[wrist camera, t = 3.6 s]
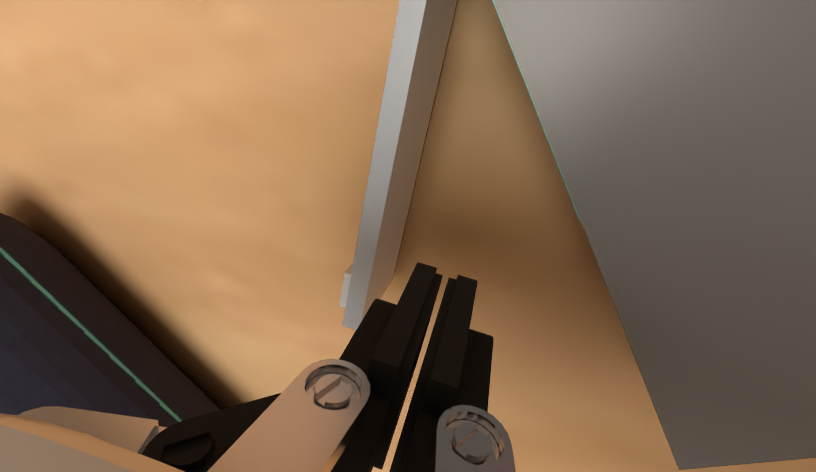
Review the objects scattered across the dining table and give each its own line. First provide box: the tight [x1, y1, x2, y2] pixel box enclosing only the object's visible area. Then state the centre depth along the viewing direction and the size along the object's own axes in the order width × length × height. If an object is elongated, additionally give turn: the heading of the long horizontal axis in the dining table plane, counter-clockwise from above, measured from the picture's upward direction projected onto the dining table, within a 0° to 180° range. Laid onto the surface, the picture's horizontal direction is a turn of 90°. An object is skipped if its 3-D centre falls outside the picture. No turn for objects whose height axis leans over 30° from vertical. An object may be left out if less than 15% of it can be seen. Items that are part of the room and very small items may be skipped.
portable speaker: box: [0, 213, 220, 427], centre depth 23 cm, size 25×10×10 cm, turn 43°
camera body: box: [492, 0, 816, 470], centre depth 11 cm, size 19×12×6 cm, turn 28°
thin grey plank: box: [339, 0, 457, 330], centre depth 15 cm, size 12×1×4 cm, turn 168°
